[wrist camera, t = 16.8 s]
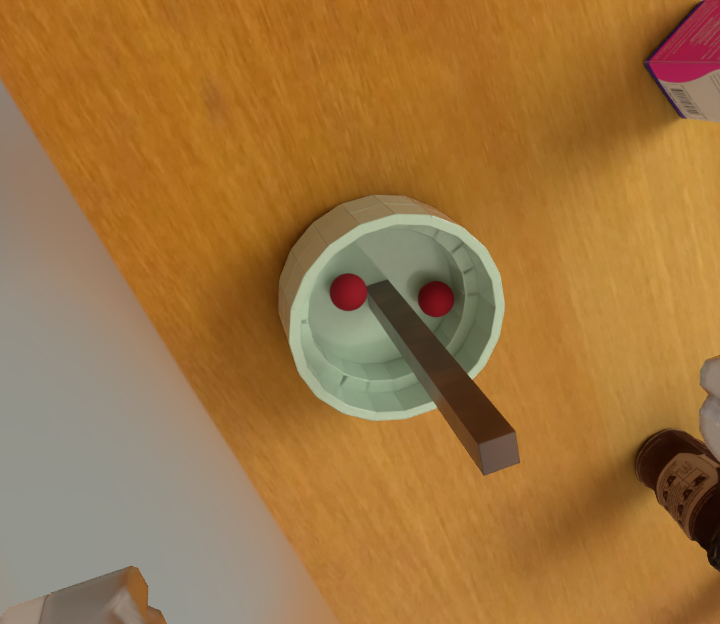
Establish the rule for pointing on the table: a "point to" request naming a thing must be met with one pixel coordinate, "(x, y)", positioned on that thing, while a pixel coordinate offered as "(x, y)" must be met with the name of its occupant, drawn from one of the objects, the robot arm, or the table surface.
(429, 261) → the bowl
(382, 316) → the stirring stick
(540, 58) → the table surface
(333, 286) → the berry
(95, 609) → the robot arm
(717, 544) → the coffee cup
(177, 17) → the table surface
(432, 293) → the berry
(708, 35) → the supplement box
